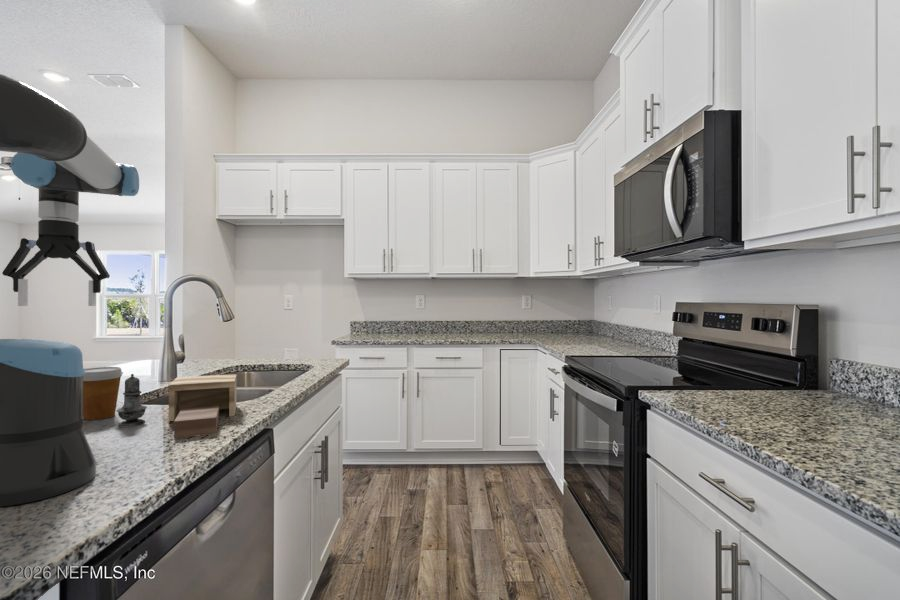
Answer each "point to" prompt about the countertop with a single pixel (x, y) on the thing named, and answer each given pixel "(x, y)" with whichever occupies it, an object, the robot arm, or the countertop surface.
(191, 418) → the dark brown block
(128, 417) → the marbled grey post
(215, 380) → the oak bridge
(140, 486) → the countertop surface
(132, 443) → the countertop surface
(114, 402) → the disposable coffee cup
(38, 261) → the robot arm
